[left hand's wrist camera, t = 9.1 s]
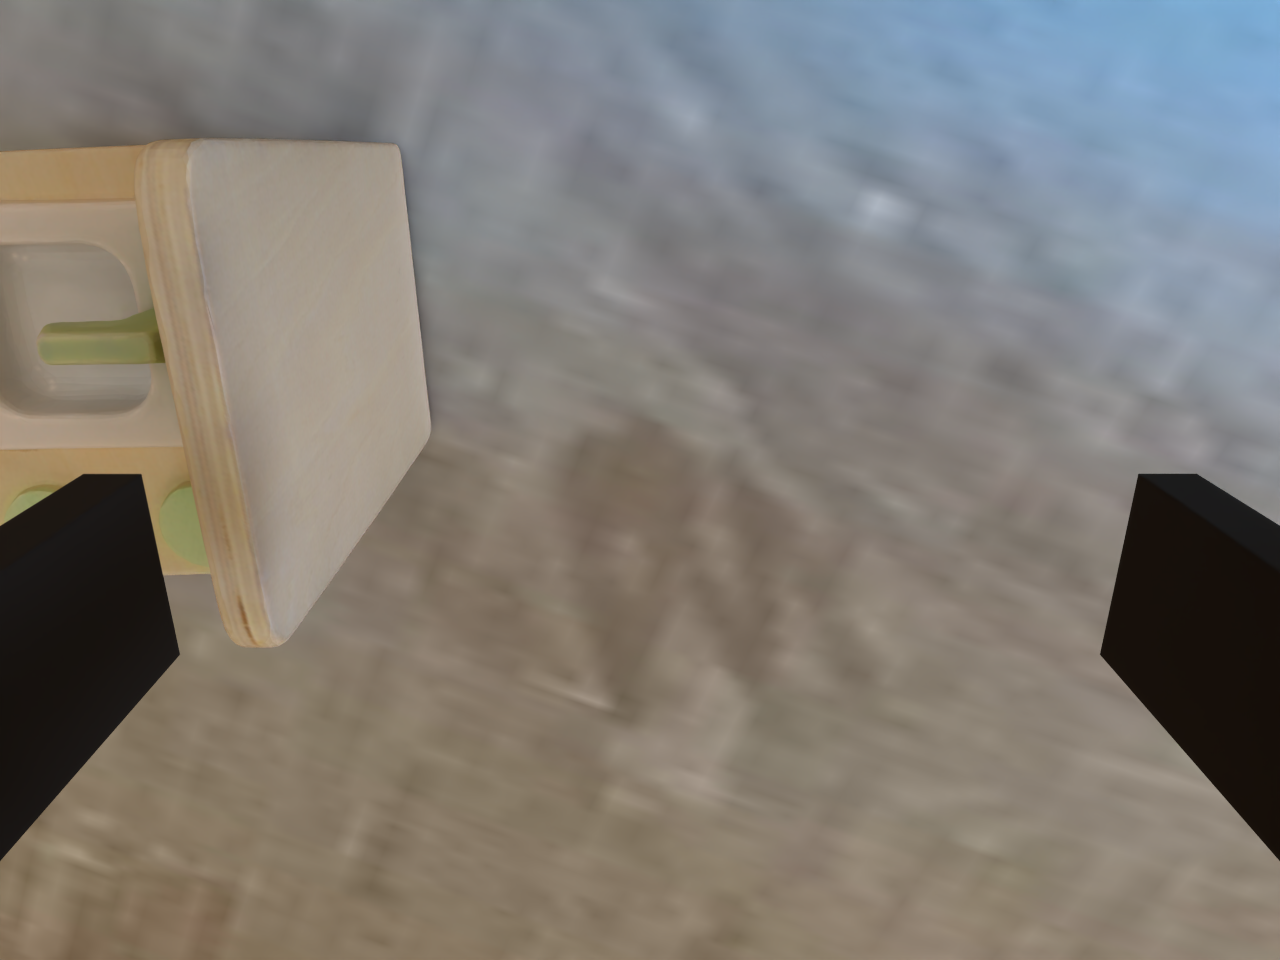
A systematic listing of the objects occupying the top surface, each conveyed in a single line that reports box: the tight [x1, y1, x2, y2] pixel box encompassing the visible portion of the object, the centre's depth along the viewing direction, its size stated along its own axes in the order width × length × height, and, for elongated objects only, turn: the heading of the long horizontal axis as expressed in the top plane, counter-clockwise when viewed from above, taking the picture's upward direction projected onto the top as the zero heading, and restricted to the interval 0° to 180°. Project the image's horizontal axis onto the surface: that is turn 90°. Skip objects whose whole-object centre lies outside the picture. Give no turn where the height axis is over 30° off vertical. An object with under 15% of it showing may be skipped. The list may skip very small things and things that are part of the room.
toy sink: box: [0, 138, 431, 647], centre depth 20 cm, size 8×7×13 cm
